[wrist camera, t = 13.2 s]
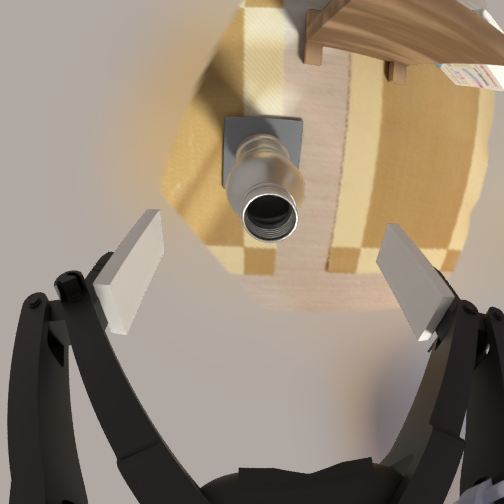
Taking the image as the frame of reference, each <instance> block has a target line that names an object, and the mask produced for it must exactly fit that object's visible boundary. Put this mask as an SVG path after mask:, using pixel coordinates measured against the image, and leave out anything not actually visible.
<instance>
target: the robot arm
mask: <svg viewBox="0 0 504 504" xmlns="http://www.w3.org/2000/svg"><path fill="white" fill-rule="evenodd" d="M163 254H164V244H163V235H162V227H161V218H160V210H157V209H156V210H155V209H147V210H146V211H145V213H144V214H143V215H142V216H141V218H140V219H139V220H138V221H137V223H136V224H135V225H134V227H133V228H132V229H131V231H130V232H129V233H128V234H127V236H126V237H125V238H124V240H123V241H122V242H121V244H120V245H119V247H118V248H117V249H116V251H115V252H108V253H106V254H105V255H103V256H102V257H101V258H100V259H99V260H98V262H97V263H96V265H95V266H94V267H93V269H92V271H90V273H89V274H88V276H87V277H86V278H85V280H84V277H83V275H82V274H81V272H79V271H68V272H65V273H63V274H61V275H60V276H59V277H58V278H57V279H56V281H55V282H54V287H55V290H56V292H57V294H58V296H59V299H60V300H54V301H49V300H48V298H47V296H46V295H45V294H44V293H42V292H38V293H34V294H32V295H30V296H29V297H28V298H27V299H26V300H25V301H24V303H23V306H22V310H21V314H20V318H19V323H18V328H17V332H16V338H15V344H14V349H13V356H12V363H11V371H10V380H9V392H8V417H7V426H8V450H9V463H10V472H11V480H12V481H11V489H10V499H9V504H88V500H87V495H86V490H85V485H84V482H83V478H82V473H81V469H80V464H79V459H78V454H77V449H76V443H75V437H74V430H73V422H72V413H71V402H70V389H69V366H68V365H69V363H68V362H69V361H68V360H69V359H68V350H69V349H68V348H69V347H68V346H69V345H72V349H73V352H74V356H75V359H76V362H77V365H78V368H79V371H80V374H81V377H82V380H83V383H84V385H85V388H86V391H87V394H88V396H89V398H90V401H91V403H92V406H93V408H94V411H95V413H96V416H97V418H98V420H99V422H100V425H101V427H102V429H103V431H104V433H105V435H106V437H107V439H108V441H109V443H110V445H111V447H112V449H113V451H114V453H115V455H116V457H117V466H118V469H119V471H120V472H121V474H122V476H123V478H124V479H125V481H126V483H127V485H128V486H129V488H130V489H131V491H132V492H133V494H134V496H135V497H136V499H137V500H138V502H139V503H140V504H443V503H444V500H445V498H446V496H447V494H448V491H449V489H450V487H451V484H452V482H453V479H454V477H455V474H456V471H457V469H458V466H459V463H460V460H461V457H462V454H463V451H464V456H463V463H462V470H461V479H460V498H459V500H458V501H456V502H454V504H504V314H503V313H502V311H501V310H500V309H497V308H495V307H490V308H489V310H488V311H487V313H486V314H482V313H479V312H478V310H477V308H476V307H475V306H474V305H473V304H472V303H471V302H469V301H467V300H460V298H459V297H458V295H457V294H456V292H455V291H454V290H453V288H452V287H451V285H449V283H448V281H447V280H445V277H444V276H443V275H442V273H441V272H440V271H438V270H437V269H436V268H435V267H433V266H432V264H431V263H430V262H429V261H428V259H427V258H426V257H425V256H424V254H423V253H422V252H421V251H420V249H419V248H418V247H417V246H416V244H415V243H414V242H413V241H412V240H411V239H410V237H409V236H408V235H407V234H406V233H405V231H404V230H403V229H402V228H401V227H400V226H399V225H398V224H391V223H388V224H387V228H386V231H385V234H384V238H383V241H382V244H381V248H380V251H379V254H378V257H377V260H376V263H377V265H378V266H379V268H380V270H381V271H382V273H383V275H384V277H385V279H386V280H387V282H388V284H389V286H390V288H391V289H392V291H393V293H394V295H395V297H396V299H397V301H398V303H399V304H400V306H401V308H402V310H403V312H404V314H405V316H406V318H407V320H408V322H409V324H410V326H411V328H412V330H413V333H414V335H415V336H416V339H417V341H422V340H429V339H430V338H431V336H432V335H433V333H434V331H436V333H437V335H438V337H437V338H436V340H435V341H434V343H433V344H432V346H431V347H430V348H429V350H428V352H430V351H431V350H432V352H431V355H430V358H429V361H428V364H427V367H426V370H425V373H424V376H423V379H422V381H421V384H420V387H419V389H418V392H417V395H416V397H415V400H414V402H413V405H412V407H411V409H410V412H409V414H408V416H407V418H406V421H405V423H404V425H403V427H402V429H401V431H400V433H399V435H398V437H397V439H396V441H395V443H394V445H393V447H392V449H391V451H390V452H389V454H388V455H387V456H386V457H385V458H384V459H383V460H382V462H381V463H380V464H376V463H372V458H371V457H368V458H363V459H358V460H352V461H346V462H342V463H339V464H336V465H334V466H331V467H328V468H326V469H323V470H320V471H317V472H314V473H311V474H305V473H298V472H292V471H286V470H281V469H276V468H239V472H238V473H234V474H229V475H225V476H222V477H220V478H217V479H215V480H213V481H211V482H209V483H207V484H206V485H204V486H203V487H201V488H200V487H198V485H197V484H196V483H195V481H194V480H193V479H192V478H191V476H190V475H189V474H188V473H187V471H186V470H185V469H184V468H183V466H182V465H181V464H180V463H179V461H178V460H177V458H176V457H175V456H174V454H173V453H172V452H171V450H170V449H169V447H168V446H167V444H166V443H165V441H164V440H163V438H162V437H161V435H160V434H159V432H158V431H157V429H156V428H155V426H154V424H153V423H152V421H151V420H150V418H149V417H148V415H147V413H146V411H145V410H144V408H143V406H142V405H141V403H140V401H139V399H138V398H137V396H136V394H135V392H134V390H133V389H132V387H131V385H130V383H129V381H128V379H127V377H126V376H125V373H124V371H123V369H122V367H121V366H120V363H119V361H118V359H117V357H116V356H115V353H114V351H113V348H112V346H111V344H110V342H109V339H108V337H107V335H106V333H105V329H106V327H107V324H108V325H109V327H110V330H111V332H112V333H117V334H123V335H127V333H128V331H129V328H130V326H131V324H132V322H133V319H134V317H135V315H136V312H137V310H138V308H139V305H140V303H141V301H142V298H143V296H144V294H145V292H146V290H147V287H148V285H149V283H150V281H151V279H152V277H153V274H154V272H155V270H156V268H157V266H158V264H159V262H160V260H161V258H162V256H163ZM488 348H489V352H488V354H486V350H487V349H488ZM466 409H467V414H466V434H465V440H464V439H461V438H460V432H461V428H462V424H463V421H464V417H465V413H466Z"/></svg>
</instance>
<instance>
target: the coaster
mask: <svg viewBox="0 0 504 504" xmlns="http://www.w3.org/2000/svg"><path fill="white" fill-rule="evenodd" d="M302 132H303V121H297V120H287V119H275V118H260V117H238V116H225V130H224V170H223V189H226V182H227V178H228V176H229V173H230V171H231V170H232V168H233V167H234V166H235V164H236V160H235V158H236V151H237V148H238V146H239V145H240V143H241V142H242V141H243V140H244V139H245V138H247V137H249V136H251V135H254V134H259V133H264V134H270V135H273V136H275V137H277V138H278V139H280V140H281V141H282V142H283V143H284V144H285V146H286V147H287V149H288V152H289V156H290V161H291V162H292V163H293V164H294V165H295V166H296V167H297V168H298V170H299V162H300V152H301V142H302Z"/></svg>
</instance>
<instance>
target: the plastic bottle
mask: <svg viewBox="0 0 504 504" xmlns="http://www.w3.org/2000/svg"><path fill="white" fill-rule="evenodd" d="M235 160H236V164H235V166H234V167H233V168H232V170H231V171H230V173H229V176H228V178H227V182H226V194H227V199H228V201H229V204H230V206H231V207H232V209H233V210H234V212H235V213H236V214H237V215H238V216H239V217H240V218H241V219H242V223H243V226H244V228H245V230H246V231H247V232H248V233H249V234H250V235H251V236H252V237H253V238H255V239H257V240H259V241H262V242H267V243H273V242H279V241H282V240H284V239H286V238H287V237H289V236H290V235H291V234H292V233H293V232H294V230H295V228H296V226H297V222H298V212H299V210H300V209H301V207H302V204H303V201H304V199H305V183H304V179H303V177H302V175H301V173H300V171H299V170H298V168H297V167H296V166H295V165H294V164H293V163H292V162H291V161H290V156H289V152H288V149H287V147H286V146H285V144H284V143H283V142H282V141H281V140H280V139H278V138H277V137H275V136H273V135H270V134H264V133H259V134H254V135H251V136H249V137H247V138H245V139H244V140H243V141H242V142H241V143H240V145H239V146H238V148H237V151H236V158H235Z"/></svg>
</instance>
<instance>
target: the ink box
mask: <svg viewBox="0 0 504 504" xmlns="http://www.w3.org/2000/svg"><path fill="white" fill-rule="evenodd" d="M472 11H473V12H475V13H476V14H478V15H479V16H480V17H482V18H483V19H485V20H486V21H488V22H489V23H490V24H492V25H493V26H494V27H496V28H497V29H498V30H499V31H501V32H502V33H503V31H502V30H501V29H500V27H499V26H498V25H497V23H496V22H495V21H494V19H493V18H492V17H491V16H490V14H489V13H488V12H487V11H486V10H485V9H478V10H472ZM503 34H504V33H503ZM436 65H437V66H438V67H439V68H440V69H441V70H442V71H443V72H444V73H445V74H446V75H447V76H448V77H449V78H450V79H451V80H452V82H453V83H454V84H455V85H463V86H472V87H479V88H486V89H492V90H498V91H503V92H504V66H499V65H487V64H457V63H453V64H436Z"/></svg>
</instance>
